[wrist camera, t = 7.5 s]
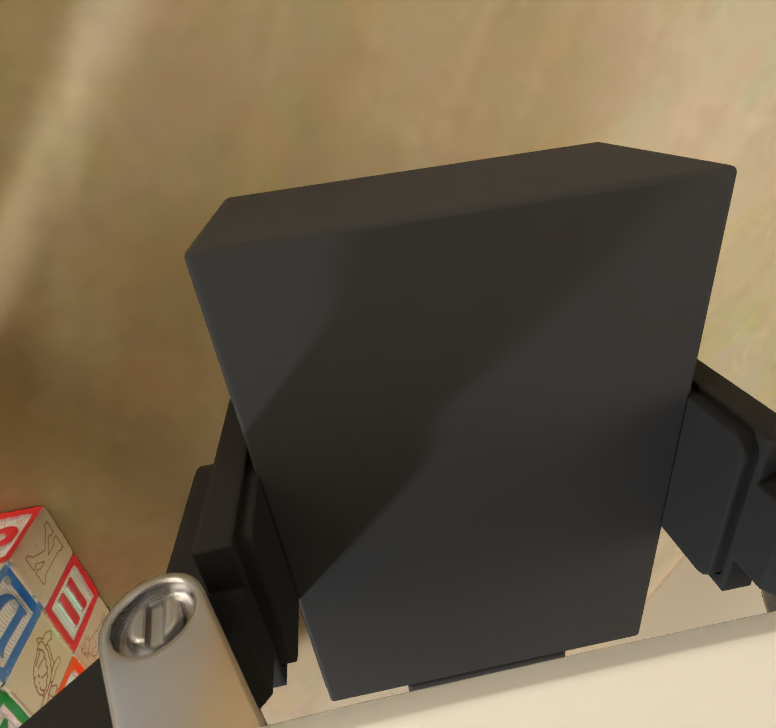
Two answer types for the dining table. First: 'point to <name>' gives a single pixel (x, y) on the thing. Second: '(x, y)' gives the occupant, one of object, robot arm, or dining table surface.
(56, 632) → the stack of blocks
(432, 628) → the black tabbed block
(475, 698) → the robot arm
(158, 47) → the dining table surface
